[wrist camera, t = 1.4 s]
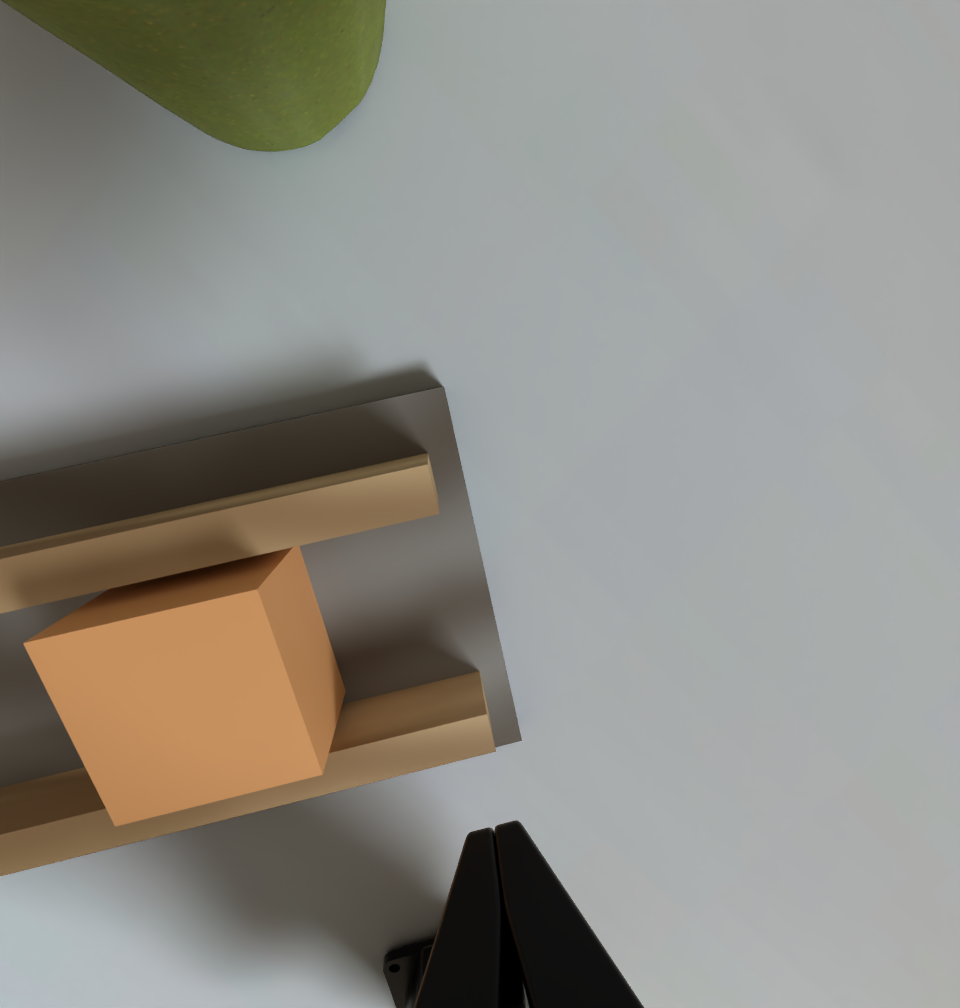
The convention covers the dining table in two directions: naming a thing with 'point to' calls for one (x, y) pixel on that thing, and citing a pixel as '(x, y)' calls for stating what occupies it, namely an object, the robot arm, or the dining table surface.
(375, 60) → the plant pot
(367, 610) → the chute
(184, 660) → the orange block
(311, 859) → the dining table surface
